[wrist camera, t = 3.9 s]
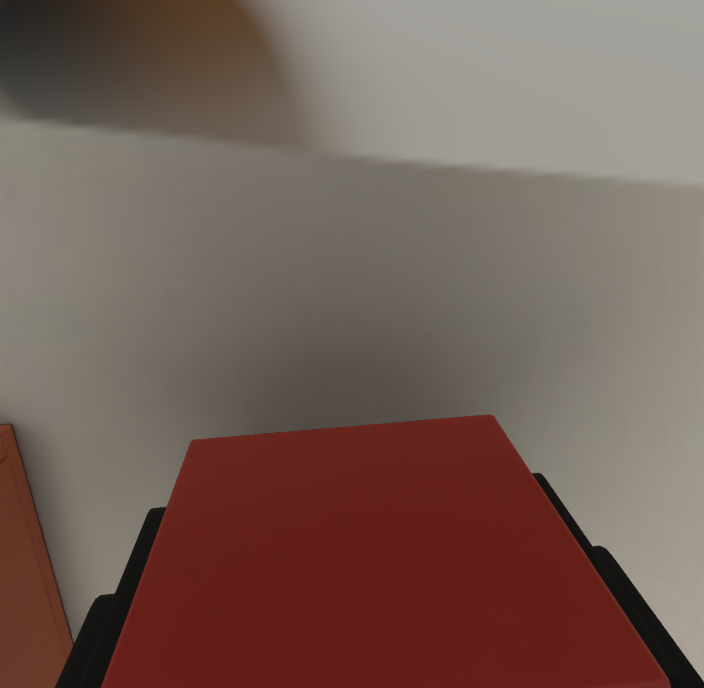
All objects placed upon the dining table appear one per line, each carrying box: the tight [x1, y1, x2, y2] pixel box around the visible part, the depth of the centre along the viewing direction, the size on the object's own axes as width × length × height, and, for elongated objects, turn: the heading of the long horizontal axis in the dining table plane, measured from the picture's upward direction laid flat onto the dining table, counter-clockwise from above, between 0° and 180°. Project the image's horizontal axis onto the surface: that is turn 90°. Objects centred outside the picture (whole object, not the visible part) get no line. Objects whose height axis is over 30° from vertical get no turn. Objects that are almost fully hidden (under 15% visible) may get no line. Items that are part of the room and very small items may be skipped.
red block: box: [101, 415, 671, 688], centre depth 8 cm, size 5×5×5 cm
